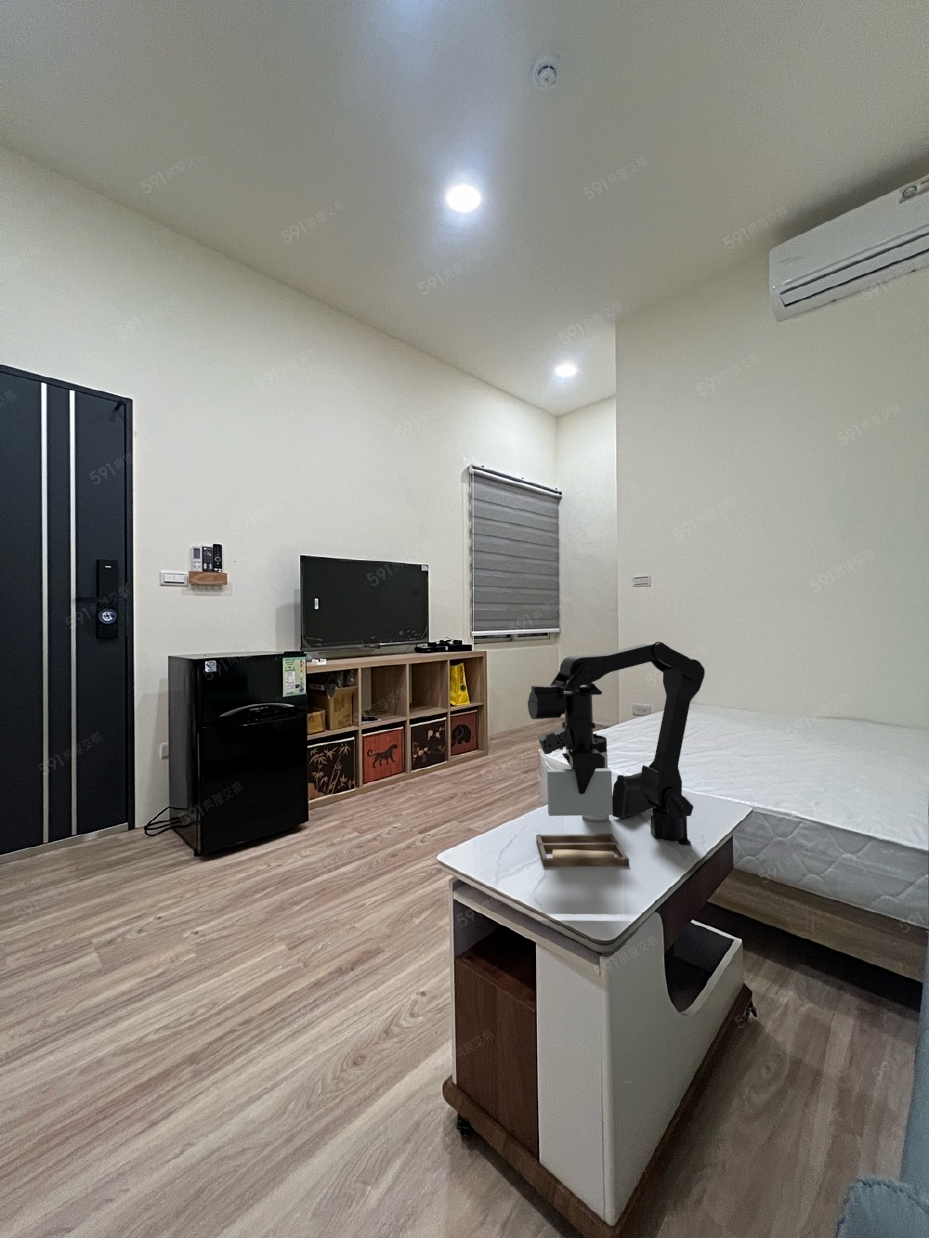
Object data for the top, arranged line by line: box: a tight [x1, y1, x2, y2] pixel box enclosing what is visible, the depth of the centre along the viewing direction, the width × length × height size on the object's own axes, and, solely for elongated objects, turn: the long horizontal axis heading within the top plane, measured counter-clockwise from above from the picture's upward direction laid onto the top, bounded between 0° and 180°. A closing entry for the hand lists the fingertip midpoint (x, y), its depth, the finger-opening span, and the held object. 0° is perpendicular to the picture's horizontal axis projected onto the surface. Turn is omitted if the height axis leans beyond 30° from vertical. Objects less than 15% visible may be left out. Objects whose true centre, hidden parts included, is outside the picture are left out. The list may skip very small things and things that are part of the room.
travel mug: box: [581, 733, 610, 823], centre depth 123 cm, size 6×7×20 cm
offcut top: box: [552, 849, 616, 858], centre depth 101 cm, size 12×4×1 cm, turn 80°
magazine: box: [612, 771, 655, 819], centre depth 131 cm, size 17×3×30 cm
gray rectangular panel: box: [546, 767, 613, 817], centre depth 106 cm, size 13×2×9 cm, turn 89°
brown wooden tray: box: [535, 833, 630, 868], centre depth 103 cm, size 16×12×2 cm
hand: (580, 791), depth 106 cm, fingers closed on gray rectangular panel, 2 cm apart
